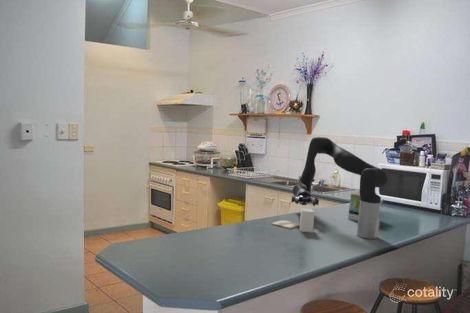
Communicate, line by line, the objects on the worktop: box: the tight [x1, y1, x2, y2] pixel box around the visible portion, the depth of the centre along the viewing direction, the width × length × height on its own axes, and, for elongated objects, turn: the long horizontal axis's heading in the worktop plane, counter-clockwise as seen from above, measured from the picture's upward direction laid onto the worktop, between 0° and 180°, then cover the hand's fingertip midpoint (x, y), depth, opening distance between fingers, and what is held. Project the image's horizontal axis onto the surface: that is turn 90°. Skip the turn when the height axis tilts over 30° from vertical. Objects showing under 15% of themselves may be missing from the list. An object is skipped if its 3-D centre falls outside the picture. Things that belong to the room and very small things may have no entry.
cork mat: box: [271, 219, 300, 230], centre depth 206 cm, size 11×11×1 cm
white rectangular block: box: [298, 207, 315, 233], centre depth 198 cm, size 6×6×10 cm
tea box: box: [347, 191, 361, 222], centre depth 232 cm, size 15×10×15 cm, turn 143°
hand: (305, 203), depth 209 cm, fingers open, 8 cm apart
